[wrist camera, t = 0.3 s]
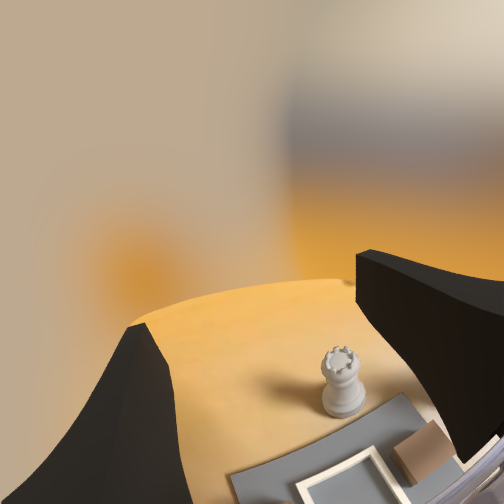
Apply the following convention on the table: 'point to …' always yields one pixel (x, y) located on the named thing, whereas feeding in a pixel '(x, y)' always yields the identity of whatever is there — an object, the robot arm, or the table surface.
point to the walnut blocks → (421, 453)
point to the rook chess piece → (342, 383)
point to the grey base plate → (349, 466)
